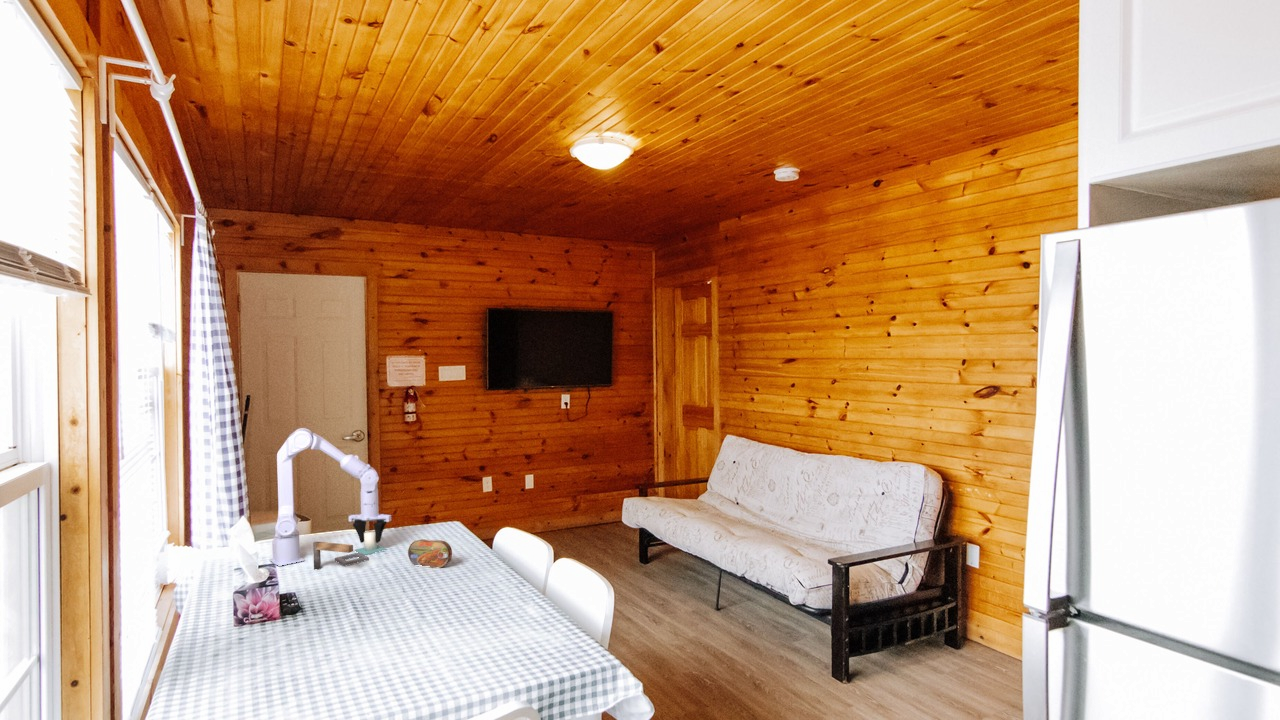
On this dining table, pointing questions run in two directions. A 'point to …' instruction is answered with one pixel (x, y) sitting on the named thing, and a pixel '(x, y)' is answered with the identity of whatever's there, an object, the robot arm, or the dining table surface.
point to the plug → (370, 541)
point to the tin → (430, 553)
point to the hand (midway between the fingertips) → (370, 541)
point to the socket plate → (344, 562)
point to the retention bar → (328, 547)
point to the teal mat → (369, 551)
